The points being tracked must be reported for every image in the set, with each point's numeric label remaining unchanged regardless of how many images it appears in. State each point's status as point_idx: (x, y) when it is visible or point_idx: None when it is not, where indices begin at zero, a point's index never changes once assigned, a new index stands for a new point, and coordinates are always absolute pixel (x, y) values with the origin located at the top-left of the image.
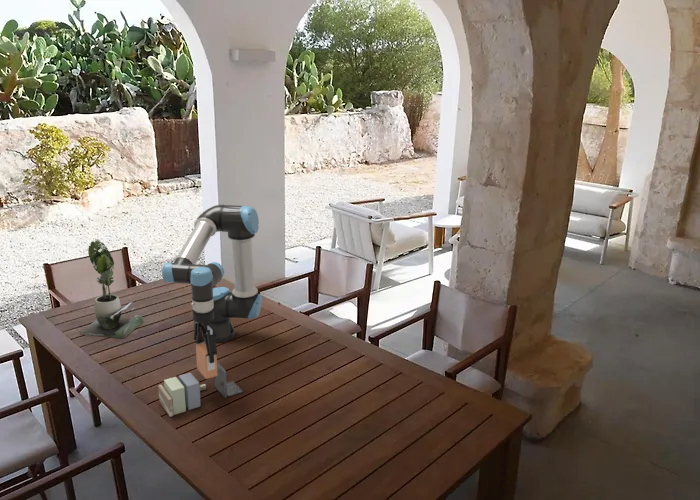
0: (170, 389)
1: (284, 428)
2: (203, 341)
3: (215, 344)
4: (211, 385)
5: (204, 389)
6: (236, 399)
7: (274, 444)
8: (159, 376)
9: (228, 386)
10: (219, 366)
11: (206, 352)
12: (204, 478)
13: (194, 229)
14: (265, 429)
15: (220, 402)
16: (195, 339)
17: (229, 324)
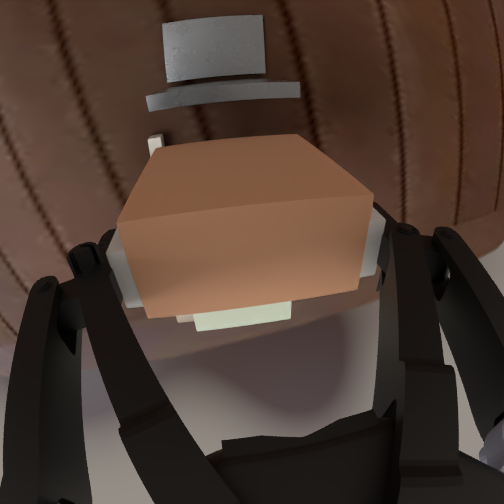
0: (272, 319)
1: (479, 45)
2: (101, 257)
3: (496, 290)
4: (143, 107)
5: (163, 139)
6: (294, 54)
7: (501, 101)
8: (39, 259)
9: (196, 50)
10: (220, 96)
11: (328, 271)
12: (478, 248)
13: None
14: (464, 79)
15: (282, 111)
16: (80, 326)
17: None
